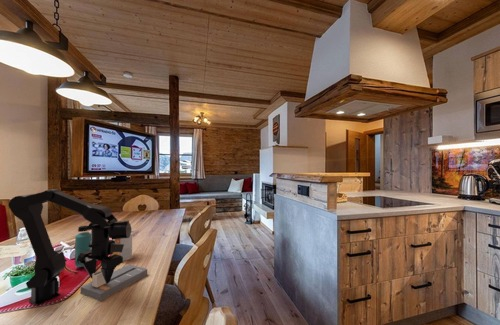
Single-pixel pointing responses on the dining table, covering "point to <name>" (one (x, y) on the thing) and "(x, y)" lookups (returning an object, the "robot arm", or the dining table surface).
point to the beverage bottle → (81, 244)
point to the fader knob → (98, 279)
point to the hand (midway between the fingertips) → (100, 280)
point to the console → (114, 282)
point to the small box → (125, 247)
